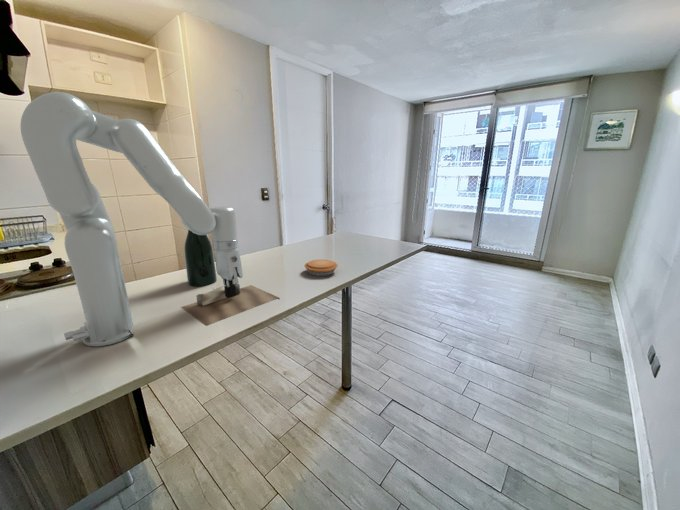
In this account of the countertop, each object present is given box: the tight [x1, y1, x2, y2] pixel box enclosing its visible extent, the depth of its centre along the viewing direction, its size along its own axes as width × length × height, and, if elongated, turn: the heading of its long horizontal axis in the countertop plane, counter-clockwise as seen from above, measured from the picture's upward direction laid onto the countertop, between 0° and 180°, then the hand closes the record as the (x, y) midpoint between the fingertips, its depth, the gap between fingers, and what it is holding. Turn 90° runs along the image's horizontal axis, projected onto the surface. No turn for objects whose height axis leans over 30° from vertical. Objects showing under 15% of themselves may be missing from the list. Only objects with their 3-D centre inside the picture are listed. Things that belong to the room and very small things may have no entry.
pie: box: [304, 259, 339, 277], centre depth 130 cm, size 15×16×5 cm
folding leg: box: [195, 283, 241, 306], centre depth 97 cm, size 15×3×3 cm, turn 140°
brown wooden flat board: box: [180, 284, 280, 327], centre depth 95 cm, size 26×18×4 cm
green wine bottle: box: [183, 229, 218, 288], centre depth 109 cm, size 10×10×33 cm
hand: (230, 296), depth 97 cm, fingers closed
